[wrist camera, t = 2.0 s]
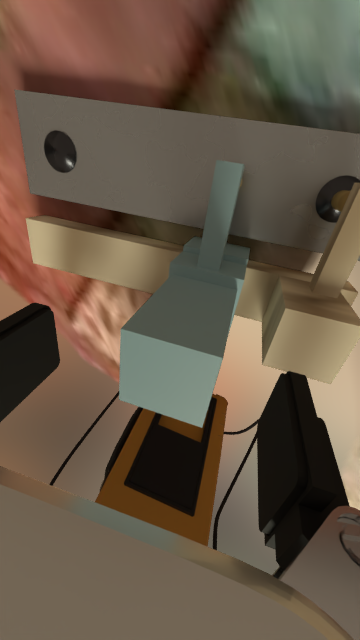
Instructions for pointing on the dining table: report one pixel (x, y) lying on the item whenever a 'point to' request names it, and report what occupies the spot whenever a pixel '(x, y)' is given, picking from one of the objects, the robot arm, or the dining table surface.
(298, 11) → the dining table surface
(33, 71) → the dining table surface
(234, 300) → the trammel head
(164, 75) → the dining table surface
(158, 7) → the dining table surface
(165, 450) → the multimeter
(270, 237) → the flange plate
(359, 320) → the trammel rail
